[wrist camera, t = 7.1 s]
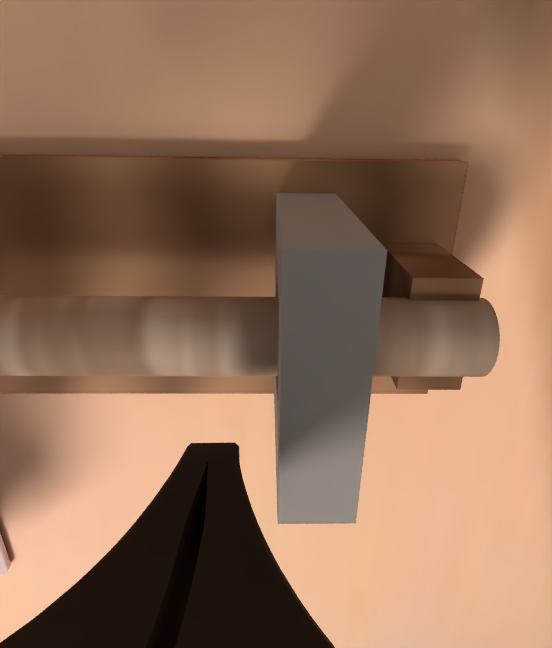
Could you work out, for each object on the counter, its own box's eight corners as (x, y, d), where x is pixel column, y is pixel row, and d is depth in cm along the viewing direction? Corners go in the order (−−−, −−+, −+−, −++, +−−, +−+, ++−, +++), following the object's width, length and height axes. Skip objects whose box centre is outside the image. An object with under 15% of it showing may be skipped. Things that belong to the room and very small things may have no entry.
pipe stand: (-45, 382, 23) (-172, 490, 17) (-119, 153, 19) (-334, 173, 12) (421, 383, 24) (481, 487, 17) (458, 160, 19) (561, 183, 13)
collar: (273, 377, 22) (277, 523, 14) (276, 193, 18) (283, 249, 10) (323, 377, 22) (355, 523, 14) (335, 193, 18) (387, 250, 11)
